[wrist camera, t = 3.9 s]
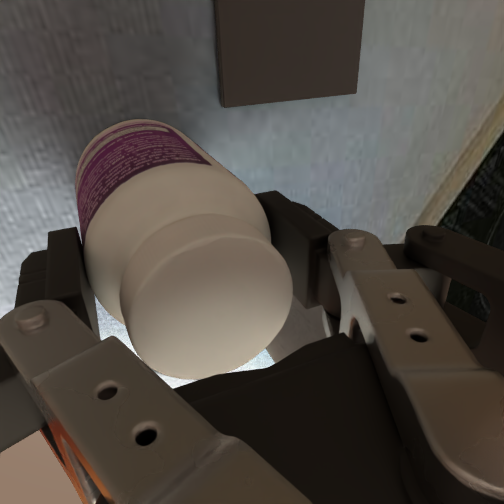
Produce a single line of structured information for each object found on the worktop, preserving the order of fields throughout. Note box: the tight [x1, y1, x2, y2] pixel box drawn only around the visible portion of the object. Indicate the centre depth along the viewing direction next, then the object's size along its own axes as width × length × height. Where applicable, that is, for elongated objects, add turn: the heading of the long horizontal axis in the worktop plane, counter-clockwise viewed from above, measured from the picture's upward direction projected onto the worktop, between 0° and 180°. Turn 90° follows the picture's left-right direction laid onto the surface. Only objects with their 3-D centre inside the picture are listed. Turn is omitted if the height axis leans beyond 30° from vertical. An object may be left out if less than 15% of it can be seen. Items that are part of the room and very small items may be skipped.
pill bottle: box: [75, 119, 293, 379], centre depth 13 cm, size 5×5×10 cm
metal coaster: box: [214, 0, 365, 108], centre depth 16 cm, size 6×6×1 cm
